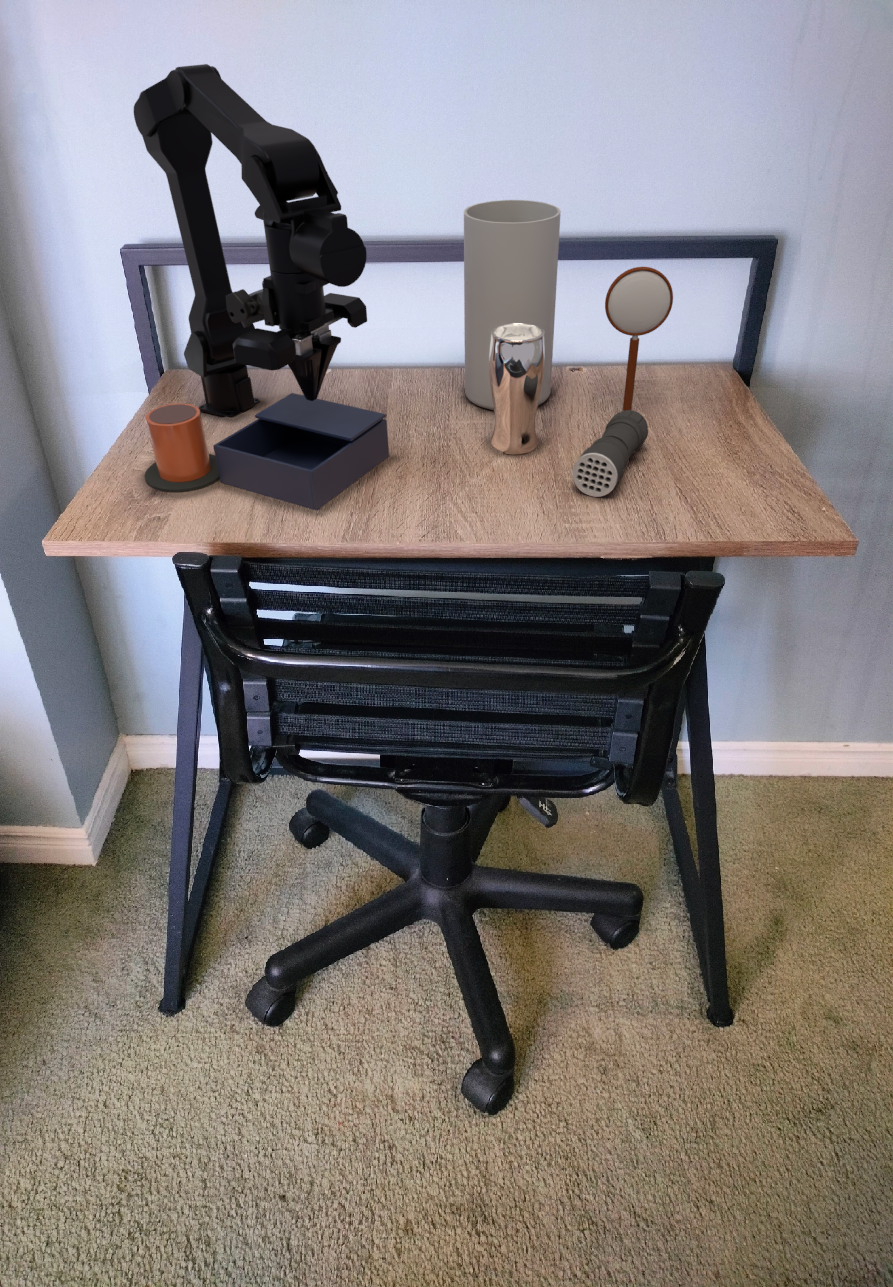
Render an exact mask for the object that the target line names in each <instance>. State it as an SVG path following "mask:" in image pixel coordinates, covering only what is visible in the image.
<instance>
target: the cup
mask: <svg viewBox="0 0 893 1287" xmlns="http://www.w3.org/2000/svg"><path fill="white" fill-rule="evenodd" d="M145 423H146V426H147V431H148V435H149V439H150V443H151V447H152V451H153V456H154V460H155V463H156V464H157V468H158V472H159V476H160V477H161V478H162V479H164V480H166V481H170V482H188V481H193V480H196V479H199V478H201V477H203V476H205V475H206V474H208V473H209V472H210V470H211V462H210V457H209V454H210V452H209V447H208V443H207V438H206V434H205V433H206V432H205V428H204V423H203V417H202V413H201V411H200V409H199V406H196V405H194V404H192V403H191V404H190V403H170V404H165V405H161V406H158V407H155V408H153V409H151V410H149V411H148V412H147V413H146V415H145Z"/></svg>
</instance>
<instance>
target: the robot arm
mask: <svg viewBox="0 0 893 1287" xmlns="http://www.w3.org/2000/svg"><path fill="white" fill-rule="evenodd" d="M133 118H134V122H135V126H136V128H137V130H138V132H139V134H140V135H141V137H142V140H143V143H144V146H145V149H146V151H147V153H148V154H149V156H150V157H151V158H152V159H153V160H154V162H156V164H157V165H158V167H160V168H161V169H162V171H163V172H164V173H165V175H166V179H167V183H168V189H169V192H170V195H171V196H170V197H171V200H172V204H173V208H174V212H175V217H176V221H177V225H178V229H179V233H180V237H181V238H180V239H181V242H182V247H183V249H184V254H185V259H186V263H187V267H188V270H189V274H190V279H191V283H192V287H193V292H194V298H193V301H192V304H191V307H190V311H189V314H188V323H189V330H190V335H189V338H188V341H187V344H186V346H185V349H184V351H183V356H184V360H185V362H186V365H187V368H188V370H190V371H191V372H193V373H195V374H196V375H198V376H200V380H201V381H200V382H201V385H202V390H203V395H204V401H205V402H204V403H203V404H201V405H199V406H198V408H199V409H200V412H203V413H207V414H210V415H211V414H212V415H215V416H218V417H223V418H225V417H227V418H235V417H237V416H238V415H240V414H242V413H244V412H245V411H247V410H249V409H251V408H252V407H254V406H256V405H258V404H259V403H261V400H260V398H256V397H254V392H253V385H252V381H251V380H252V378H251V377H250V376H249V371H248V370H249V369H248V366H249V367H253V368H259V369H262V370H268V371H278V370H281V369H283V368H285V367H286V366H288V367H289V369H290V371H291V373H292V375H293V377H294V378H295V380H296V382H297V384H298V387H299V388H300V390H301V391H302V395H304V396H305V398H306V399H307V400H309V401H314V400H315V399H318V396H319V394H320V392H321V389H322V385H323V383H324V380H325V377H326V374H327V372H328V369H329V366H330V364H331V361H332V360H333V357H334V354H335V352H336V350H337V347H338V345H339V344H341V343H342V337H340V336H336V335H332V329H330V325H333V324H335V323H336V322H338V321H340V320H342V319H346V321H347V324H348V325H349V326H350V327H351V328H353V329H354V328H358V327H360V326H361V325H362V326H363V324H365V323H367V322H368V312H367V311H368V310H367V305H366V304H365V303H364V302H363V300H362V299H361V297H360V296H359V297H358V296H352V295H345V294H339V293H334V292H329V293H327V294H325V291H324V290H325V289H324V287H325V286H327V285H328V284H330V285H333V286H336V287H338V288H345V287H349V286H351V285H353V284H355V283H356V282H357V281H358V280H359V278H360V277H361V276H362V274H363V273H364V270H365V267H366V264H367V255H368V254H367V248H366V246H365V244H364V241H363V239H362V237H361V235H360V234H359V233H357V231H356V230H354V229H352V228H350V227H349V226H348V224H349V223H348V217H347V215H346V214H345V213H342V212H341V213H340V211H342V205H341V202H340V199H339V198H338V195H339V191H338V190H337V188H336V186H335V184H334V182H333V181H332V179H331V177H330V175H329V174H328V171H327V169H326V167H325V164H324V162H323V159H322V157H321V155H320V154H319V151H318V149H317V148H316V146H315V145H314V144H313V142H312V141H311V140H310V139H309V138H308V137H306V136H304V135H303V134H301V133H299V132H297V131H296V130H294V129H292V128H288V127H284V126H280V125H276V124H272V123H270V122H269V121H267V120H266V119H265V118H264V117H263V116H261V114H260V113H258V112H257V111H256V110H255V109H254V108H253V107H252V106H251V105H250V104H249V103H248V102H247V101H246V100H245V99H244V98H243V97H242V96H240V94H238V93H237V92H236V91H235V90H234V89H233V88H232V87H231V86H230V85H229V84H228V83H226V82H225V81H224V80H223V79H222V76H221V74H220V72H219V70H218V69H217V67H215V66H213V65H209V64H207V63H203V64H194V65H183V66H176V67H175V69H172V70H170V72H168V74H167V76H165V78H163V79H161V80H159V81H158V82H156V83H154V84H153V85H151V86H149V87H147V88H146V89H144V90H142V91H141V92H140V93H139V96H138V98H137V100H136V102H135V103H134V105H133ZM212 136H213V137H215V138H216V139H217V140H218V141H219V142H220V143H221V144H222V145H223V146H224V147H225V148H226V149H227V150H228V151H229V152H230V153H231V154H232V155H233V156H234V157H235V158H236V159H237V161H238V162H239V163H240V165H241V180H242V181H243V183H244V184H245V185H246V187H247V188H248V190H249V191H250V193H251V194H252V195H253V198H255V200H256V201H257V203H258V206H257V207H256V208H255V210H254V217H255V218H256V219H257V220H258V219H259V220H261V221H263V228H264V235H265V236H264V237H265V243H266V250H267V251H266V252H267V257H268V264H269V273H270V275H268V276H265V277H264V278H262V281H261V287H262V288H261V289H258V290H256V291H253V292H251V293H248V292H247V291H246V289H244V288H242V289H239V290H237V291H233V289H232V286H231V281H230V276H229V271H228V267H227V262H226V258H225V254H224V248H223V244H222V240H221V235H220V232H219V231H220V230H219V226H218V222H217V216H216V212H215V208H214V203H213V199H212V194H211V189H210V184H209V180H208V175H207V171H206V167H207V165H208V164H207V163H208V161H209V157H210V154H211V151H212V148H213V137H212ZM315 195H317V196H315ZM335 212H338V213H335ZM262 321H264V325H265V326H268V327H275V326H277V327H278V329H279V330H278V331H273V330H270V329H269V330H268V329H263V328H258V327H257V328H256V327H255V323H259V322H262Z"/></svg>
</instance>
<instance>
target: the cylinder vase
mask: <svg viewBox="0 0 893 1287" xmlns="http://www.w3.org/2000/svg"><path fill="white" fill-rule="evenodd" d="M560 227H561V208H559V207H558V206H556V205H554V204H551V203H547V202H543V201H537V200H526V199H501V200H490V201H485V202H479V203H474V204H472V205H469V206H467V207H466V208H464V210H463V306H464V307H463V309H464V310H463V312H464V313H463V314H464V317H463V319H464V323H463V324H464V392H465V393H464V394H465V396H466V398H467V399H468V401H470V402H471V403H472V404H474V405H476V406H478V407H480V408H483V409H487V410H491V411H494V406H493V400H492V394H491V387H490V379H489V351H490V340H491V330H492V329H493V328H494V327H496V326H498V325H502V324H506V323H529V324H534V325H537V326H539V327H541V328H542V329H543V330H544V346H545V366H544V377H543V383H542V388H541V392H540V397H539V401H538V406H540V405H541V404H542V405H543V403H545V402H546V401H547V400H548V398H549V397H550V395H551V390H552V371H553V354H554V353H553V352H554V336H555V333H554V332H555V317H556V300H557V286H558V285H557V284H558V282H557V281H558V266H559V248H560V229H561V228H560Z"/></svg>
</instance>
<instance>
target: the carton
mask: <svg viewBox="0 0 893 1287" xmlns="http://www.w3.org/2000/svg"><path fill="white" fill-rule="evenodd" d="M388 434H389V433H388V420H387V419H386V418H383V419H382V420H380V421H379V422H378V423H376V424H375V425H373V426H372V427H371V428H369V429H368V430H366V431H365V432H364V433H362V434H361V435H359V436H358V437H356V438H355V439H354V440H352V441H348V440H344V439H340V438H336V437H331V436H327V435H323V434H319V433H315V432H311V431H307V430H303V429H299V428H295V427H291V426H287V425H282V424H278V423H274V422H270V421H266V420H262V419H258V418H256V420H254V421H252V422H251V423H249V424H247V425H246V426H244V427H242V428H240V429H239V430H237V431H235V432H233V433H232V434H230V435H228V436H227V437H225V438H223V439H222V440H220V441H219V442H216V443H215V444H214V445H213V451H214V455H215V457H216V462H217V467H218V472H219V477H220V480H219V482H220V484H222V485H226V486H230V487H234V488H237V489H241V490H244V491H248V492H251V493H255V494H258V495H260V496H261V495H262V496H264V497H268V498H272V499H275V500H279V501H281V502H282V501H283V502H285V503H288V504H289V503H290V504H292V505H296V506H299V507H303V508H307V509H310V510H312V511H319V510H320V509H322V508H323V507H324V506H326V505H327V504H328V503H329V502H330V501H332V500H334V499H335V498H336V497H337V496H338V495H340V494H341V493H343V492H344V491H345V490H347V489H348V488H350V486H352V485H353V484H355V483H356V482H358V481H359V480H360V479H361V478H363V477H364V476H365V475H366V474H368V473H370V471H372V470H373V469H374V468H376V467H377V466H379V465H380V464H381V463H383V462H384V461H385V460H386V459H388V458H389V457H390V450H389V435H388Z"/></svg>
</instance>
